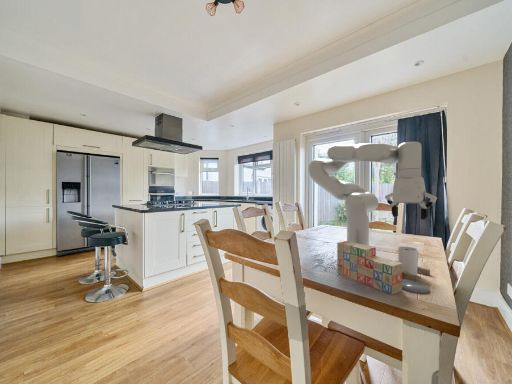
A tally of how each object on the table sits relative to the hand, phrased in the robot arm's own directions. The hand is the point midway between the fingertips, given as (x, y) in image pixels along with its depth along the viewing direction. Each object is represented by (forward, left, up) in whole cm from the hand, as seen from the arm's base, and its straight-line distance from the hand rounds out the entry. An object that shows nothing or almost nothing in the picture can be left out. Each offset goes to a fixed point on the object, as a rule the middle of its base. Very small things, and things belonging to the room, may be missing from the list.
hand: (408, 217), depth 84 cm
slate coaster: (+6, -12, -22) cm, 26 cm away
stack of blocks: (-6, -20, -22) cm, 31 cm away
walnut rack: (-1, 0, -22) cm, 22 cm away
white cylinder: (0, 0, -22) cm, 22 cm away
